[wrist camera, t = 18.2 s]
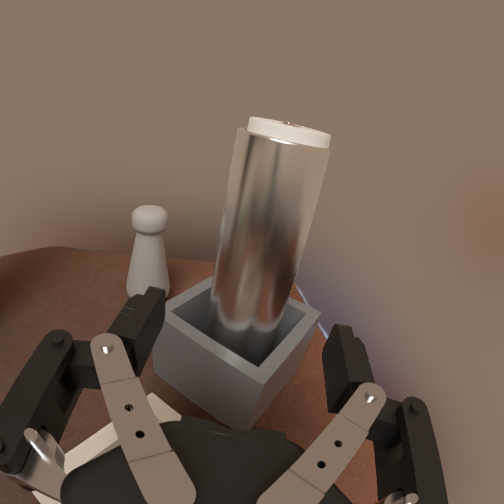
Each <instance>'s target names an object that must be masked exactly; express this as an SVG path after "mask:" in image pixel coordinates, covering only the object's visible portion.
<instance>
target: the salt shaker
mask: <svg viewBox="0 0 504 504" xmlns="http://www.w3.org/2000/svg"><path fill="white" fill-rule="evenodd" d="M168 220H169V219H168V214H167V212H166V211H165V209H163V208H162V207H159V206H155V205H144V206H140V207H138V208H136V209H135V210H134V211H133V213H132V226H133V229H134V230H136V231H137V234H136V238H135V243H134V247H133V252H132V257H131V261H130V266H129V272H128V277H127V282H126V288H127V293H128V296H129V297H130V298H131V297H133V296H134V295H136V294H141V295H144V293H145V292H146V290H147V289H148V287H149V286H153V287H157V288H161V289H165V291H166V297H167V296H168V293H169V290H170V282H169V276H168V269H167V261H166V254H165V246H164V238H163V231H165V229H166V228H167V226H168Z"/></svg>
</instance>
